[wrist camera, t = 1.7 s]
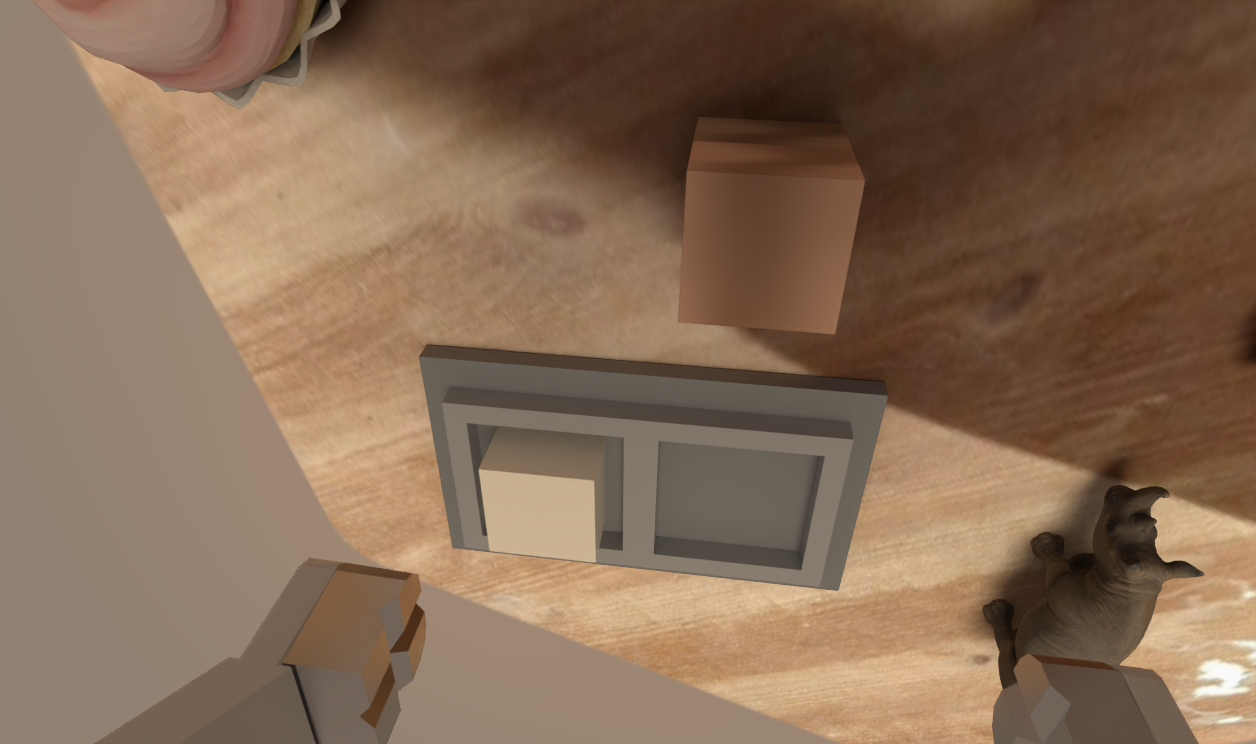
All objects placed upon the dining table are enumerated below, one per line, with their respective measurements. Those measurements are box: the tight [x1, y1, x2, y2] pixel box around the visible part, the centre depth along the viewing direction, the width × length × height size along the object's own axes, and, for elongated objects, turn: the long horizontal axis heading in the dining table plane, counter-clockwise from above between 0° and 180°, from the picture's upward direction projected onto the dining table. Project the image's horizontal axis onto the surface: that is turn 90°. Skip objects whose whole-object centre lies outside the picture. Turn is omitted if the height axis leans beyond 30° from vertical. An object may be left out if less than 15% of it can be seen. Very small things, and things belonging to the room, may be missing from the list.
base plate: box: [419, 345, 888, 591], centre depth 34 cm, size 20×12×4 cm, turn 89°
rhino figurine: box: [983, 485, 1204, 689], centre depth 32 cm, size 4×14×6 cm, turn 171°
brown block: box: [678, 117, 865, 334], centre depth 25 cm, size 5×5×6 cm
